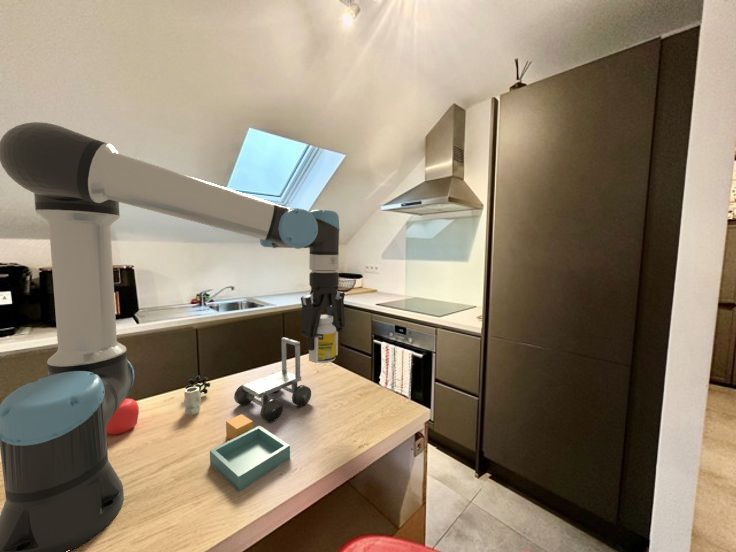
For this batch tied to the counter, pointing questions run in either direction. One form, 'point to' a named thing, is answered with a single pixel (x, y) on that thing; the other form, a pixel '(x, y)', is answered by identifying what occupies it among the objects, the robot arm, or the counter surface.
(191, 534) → the counter surface
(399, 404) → the counter surface
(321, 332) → the pill bottle
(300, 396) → the trolley
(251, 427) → the block
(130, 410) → the apple
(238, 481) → the tray
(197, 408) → the valve
